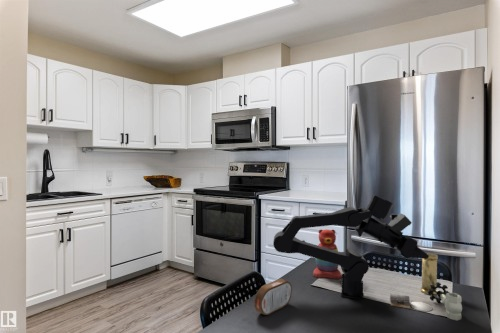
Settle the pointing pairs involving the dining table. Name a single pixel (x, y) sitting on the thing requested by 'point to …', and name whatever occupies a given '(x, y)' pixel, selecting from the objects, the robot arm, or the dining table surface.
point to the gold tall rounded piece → (429, 273)
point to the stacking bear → (325, 267)
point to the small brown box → (399, 300)
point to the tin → (273, 296)
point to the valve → (447, 301)
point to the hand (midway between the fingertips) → (421, 252)
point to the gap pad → (420, 306)
